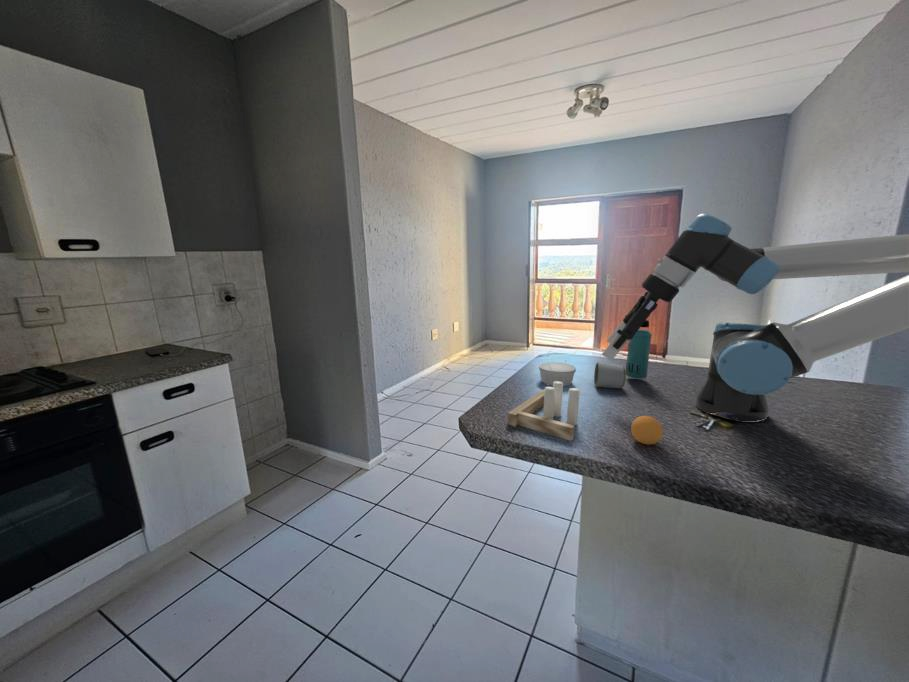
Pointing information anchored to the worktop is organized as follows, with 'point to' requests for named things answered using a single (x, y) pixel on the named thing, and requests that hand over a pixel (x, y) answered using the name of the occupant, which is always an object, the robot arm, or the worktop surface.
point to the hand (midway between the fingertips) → (608, 350)
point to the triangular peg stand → (539, 419)
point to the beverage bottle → (639, 353)
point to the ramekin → (557, 373)
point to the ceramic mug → (609, 375)
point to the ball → (646, 430)
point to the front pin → (573, 406)
